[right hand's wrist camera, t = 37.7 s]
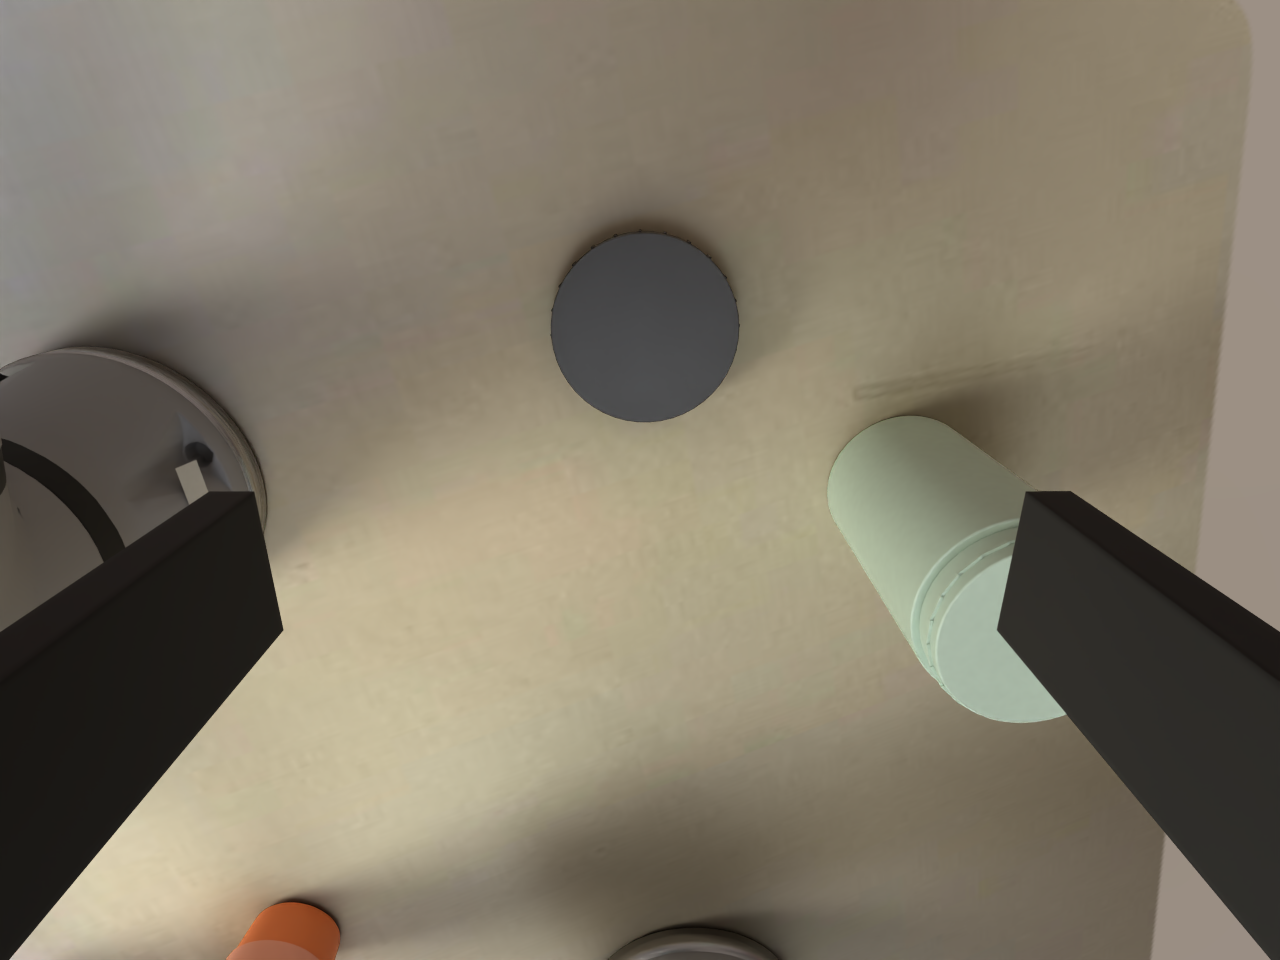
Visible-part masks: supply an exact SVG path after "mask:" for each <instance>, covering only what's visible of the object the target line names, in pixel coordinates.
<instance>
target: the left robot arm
mask: <svg viewBox="0 0 1280 960" xmlns="http://www.w3.org/2000/svg"><path fill="white" fill-rule="evenodd" d="M608 960H779V959H778V958H777V957H776V956H775V955H774V954H773V953H771V952H770V951H769V950H768V949H766V948H765V947H764V946H762V945H760V944H759V943H757V942H755V941H753V940H751V939H749V938H746V937H744V936H741V935H738V934H735V933H732V932H728V931H723V930H718V929H710V928H679V929H672V930H666V931H661V932H657V933H654V934H650V935H647V936H645V937H642V938H640V939H637V940H635V941H633V942H631V943H629V944H628V945H626V946H624V947H623V948H621V949H620V950H619V951H617V952H616V953H615V954H614V955H612V956H611V957H610V958H609V959H608Z"/></svg>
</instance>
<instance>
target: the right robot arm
mask: <svg viewBox="0 0 1280 960" xmlns="http://www.w3.org/2000/svg"><path fill="white" fill-rule="evenodd" d="M265 522H266V495H265V489H264V483H263V480H262V476H261V472H260V469H259V467H258V464H257V461H256V459H255V456H254V454H253V452H252V450H251V448H250V446H249V444H248V443H247V441H246V439H245V438H244V436H243V434H242V433H241V431H240V430H239V429H238V427H237V426H236V424H235V423H234V422H233V420H232V419H231V418H230V417H229V416H228V414H227V413H226V412H225V411H224V410H223V409H222V408H221V407H220V406H219V405H218V404H217V403H216V402H215V401H214V400H213V399H212V398H211V397H210V396H209V395H208V394H206V393H205V392H204V391H203V390H202V389H200V388H199V387H198V386H197V385H195V384H194V383H192V382H191V381H190V380H188V379H187V378H185V377H184V376H182V375H180V374H179V373H177V372H175V371H174V370H172V369H170V368H168V367H166V366H164V365H162V364H160V363H158V362H155V361H153V360H150V359H148V358H145V357H143V356H139V355H136V354H133V353H130V352H126V351H121V350H117V349H111V348H103V347H86V346H83V347H69V348H63V349H57V350H53V351H49V352H45V353H41V354H37V355H33V356H30V357H26V358H23V359H20V360H17V361H15V362H13V363H10V364H8V365H6V366H4V367H3V368H1V369H0V960H9V959H10V958H11V957H12V956H13V954H14V953H15V952H16V951H17V950H18V948H19V947H20V946H21V945H22V944H23V942H24V941H25V940H26V939H27V938H28V936H29V935H30V934H31V933H32V932H33V930H34V929H35V928H36V927H37V926H38V924H39V923H40V922H41V921H42V920H43V918H44V917H45V916H46V915H47V914H48V912H49V911H50V910H51V909H52V908H53V906H54V905H55V904H56V903H57V902H58V900H59V899H60V898H61V897H62V896H63V894H64V893H65V892H66V891H67V890H68V888H69V887H70V886H71V885H72V884H73V882H74V881H75V880H76V879H77V878H78V876H79V875H80V874H81V873H82V872H83V870H84V869H85V868H86V867H87V866H88V864H89V863H90V862H91V861H92V860H93V858H94V857H95V856H96V855H97V854H98V852H99V851H100V850H101V849H102V848H103V846H104V845H105V844H106V843H107V842H108V840H109V839H110V838H111V837H112V835H113V834H114V833H115V832H116V831H117V829H118V828H119V827H120V826H121V825H122V823H123V822H124V821H125V820H126V819H127V817H128V816H129V815H130V814H131V813H132V811H133V810H134V809H135V808H136V807H137V805H138V804H139V803H140V802H141V801H142V799H143V798H144V797H145V796H146V795H147V793H148V792H149V791H150V790H151V789H152V787H153V786H154V785H155V784H156V783H157V781H158V780H159V779H160V778H161V777H162V775H163V774H164V773H165V772H166V771H167V769H168V768H169V767H170V766H171V765H172V763H173V762H174V761H175V760H176V759H177V757H178V756H179V755H180V754H181V753H182V751H183V750H184V749H185V748H186V747H187V745H188V744H189V743H190V742H191V741H192V739H193V738H194V737H195V736H196V735H197V733H198V732H199V731H200V730H201V729H202V727H203V726H204V725H205V724H206V723H207V721H208V720H209V719H210V718H211V717H212V715H213V714H214V713H215V712H216V711H217V709H218V708H219V707H220V706H221V705H222V703H223V702H224V701H225V700H226V699H227V697H228V696H229V695H230V694H231V693H232V691H233V690H234V689H235V688H236V687H237V685H238V684H239V683H240V682H241V680H242V679H243V678H244V677H245V676H246V674H247V673H248V672H249V671H250V670H251V668H252V667H253V666H254V665H255V664H256V662H257V661H258V660H259V659H260V658H261V656H262V655H263V654H264V653H265V652H266V650H267V649H268V648H269V647H270V646H271V644H272V643H273V642H274V641H275V640H276V638H277V637H278V636H279V635H280V634H281V632H282V631H283V626H282V621H281V616H280V611H279V607H278V602H277V597H276V592H275V588H274V583H273V578H272V573H271V569H270V564H269V559H268V554H267V549H266V545H265V540H264V535H263V533H264V528H265ZM997 631H998V632H999V634H1000V635H1001V636H1002V637H1003V638H1004V640H1005V641H1006V642H1007V643H1008V644H1009V646H1010V647H1011V648H1012V649H1013V650H1014V652H1015V653H1016V654H1017V655H1018V656H1019V658H1020V659H1021V660H1022V661H1023V662H1024V664H1025V665H1026V666H1027V667H1028V668H1029V670H1030V671H1031V672H1032V673H1033V674H1034V676H1035V677H1036V678H1037V679H1038V680H1039V682H1040V683H1041V684H1042V685H1043V687H1044V688H1045V689H1046V690H1047V691H1048V693H1049V694H1050V695H1051V696H1052V697H1053V699H1054V700H1055V701H1056V702H1057V703H1058V705H1059V706H1060V707H1061V708H1062V709H1063V711H1064V712H1065V713H1066V714H1067V715H1068V717H1069V718H1070V719H1071V720H1072V721H1073V723H1074V724H1075V725H1076V726H1077V727H1078V729H1079V730H1080V731H1081V732H1082V733H1083V735H1084V736H1085V737H1086V738H1087V739H1088V741H1089V742H1090V743H1091V744H1092V745H1093V747H1094V748H1095V749H1096V750H1097V751H1098V753H1099V754H1100V755H1101V756H1102V757H1103V759H1104V760H1105V761H1106V762H1107V763H1108V765H1109V766H1110V767H1111V768H1112V769H1113V771H1114V772H1115V773H1116V774H1117V775H1118V777H1119V778H1120V779H1121V780H1122V781H1123V783H1124V784H1125V785H1126V786H1127V787H1128V789H1129V790H1130V791H1131V792H1132V793H1133V795H1134V796H1135V797H1136V798H1137V799H1138V801H1139V802H1140V803H1141V804H1142V805H1143V807H1144V808H1145V809H1146V810H1147V811H1148V813H1149V814H1150V815H1151V816H1152V817H1153V819H1154V820H1155V821H1156V822H1157V823H1158V825H1159V826H1160V827H1161V828H1162V829H1163V831H1164V832H1165V833H1166V834H1167V835H1168V837H1169V838H1170V839H1171V840H1172V841H1173V843H1174V844H1175V845H1176V846H1177V848H1178V849H1179V850H1180V851H1181V852H1182V853H1183V855H1184V856H1185V857H1186V858H1187V860H1188V861H1189V862H1190V863H1191V864H1192V865H1193V867H1194V868H1195V869H1196V870H1197V871H1198V873H1199V874H1200V875H1201V876H1202V878H1203V879H1204V880H1205V881H1206V882H1207V884H1208V885H1209V886H1210V887H1211V888H1212V890H1213V891H1214V892H1215V893H1216V894H1217V896H1218V897H1219V898H1220V899H1221V900H1222V902H1223V903H1224V904H1225V905H1226V906H1227V908H1228V909H1229V910H1230V911H1231V912H1232V914H1233V915H1234V916H1235V917H1236V918H1237V920H1238V921H1239V922H1240V923H1241V924H1242V925H1243V927H1244V928H1245V929H1246V930H1247V932H1248V933H1249V934H1250V935H1251V936H1252V938H1253V939H1254V940H1255V941H1256V942H1257V944H1258V945H1259V946H1260V947H1261V948H1262V950H1263V951H1264V952H1265V953H1266V954H1267V956H1268V957H1269V958H1270V959H1271V960H1280V632H1279V631H1278V630H1276V629H1275V628H1273V627H1272V626H1270V625H1269V624H1267V623H1266V622H1264V621H1263V620H1261V619H1260V618H1258V617H1257V616H1255V615H1254V614H1252V613H1251V612H1249V611H1248V610H1246V609H1245V608H1243V607H1242V606H1240V605H1239V604H1238V603H1236V602H1235V601H1233V600H1232V599H1230V598H1229V597H1227V596H1226V595H1224V594H1223V593H1221V592H1220V591H1218V590H1217V589H1215V588H1214V587H1212V586H1211V585H1209V584H1208V583H1206V582H1205V581H1203V580H1202V579H1200V578H1199V577H1197V576H1196V575H1194V574H1193V573H1191V572H1190V571H1188V570H1187V569H1185V568H1184V567H1182V566H1181V565H1180V564H1178V563H1177V562H1175V561H1174V560H1172V559H1171V558H1169V557H1168V556H1166V555H1165V554H1163V553H1162V552H1160V551H1159V550H1157V549H1156V548H1154V547H1153V546H1151V545H1150V544H1148V543H1147V542H1145V541H1144V540H1142V539H1141V538H1139V537H1138V536H1136V535H1135V534H1133V533H1132V532H1130V531H1129V530H1127V529H1126V528H1125V527H1123V526H1122V525H1120V524H1119V523H1117V522H1116V521H1114V520H1113V519H1111V518H1110V517H1108V516H1107V515H1105V514H1104V513H1102V512H1101V511H1099V510H1098V509H1096V508H1095V507H1093V506H1092V505H1090V504H1089V503H1087V502H1086V501H1084V500H1083V499H1081V498H1080V497H1078V496H1077V495H1075V494H1074V493H1072V492H1071V491H1026V492H1025V497H1024V502H1023V506H1022V511H1021V516H1020V521H1019V526H1018V530H1017V535H1016V540H1015V545H1014V549H1013V554H1012V559H1011V564H1010V569H1009V573H1008V578H1007V583H1006V588H1005V592H1004V597H1003V602H1002V607H1001V611H1000V616H999V621H998V626H997Z"/></svg>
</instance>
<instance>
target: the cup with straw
mask: <svg viewBox="0 0 1280 960" xmlns="http://www.w3.org/2000/svg"><path fill="white" fill-rule="evenodd" d="M339 943H340V932H339V929H338V927H337V925H336V923H335V922H334V921H333V919H332V918H331V917H330V916H328V915H327V914H326V913H324V912H323V911H321V910H320V909H318V908H315V907H313V906H310V905H307V904H302V903H295V902H286V903H279V904H276V905H273V906H270V907H268V908H266V909H265V910H264V911H262V912H261V913H260V914H259V915H258V917H257V918H256V919H255V921H254V922H253V924H252V925H251V927H250V928H249V930H248V931H247V933H246V934H245V936H244V938H243V939H242V941H241V942H240V944H239V945H238V947H237V948H236V949H235V950H234V951H232V952H231V953H230V954H229V956H228V957H227V959H226V960H335V957H336V954H337V951H338V947H339Z"/></svg>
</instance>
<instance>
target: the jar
mask: <svg viewBox="0 0 1280 960" xmlns="http://www.w3.org/2000/svg"><path fill="white" fill-rule="evenodd" d="M1026 491H1037V490H1036V489H1035V488H1033V487H1032V486H1031V485H1029V484H1028V483H1026V482H1025V481H1024V480H1022V479H1021V478H1020V477H1018V476H1017V475H1015V474H1014V473H1013V472H1011V471H1010V470H1009V469H1007V468H1006V467H1004V466H1003V465H1002V464H1000V463H999V462H998V461H996V460H995V459H993V458H992V457H991V456H989V455H988V454H987V453H985V452H984V451H982V450H981V449H980V448H978V447H977V446H976V445H974V444H973V443H971V442H970V441H969V440H967V439H966V438H964V437H963V436H962V435H960V434H959V433H958V432H956V431H955V430H953V429H952V428H951V427H949V426H948V425H946V424H944V423H942V422H940V421H938V420H934V419H931V418H928V417H922V416H899V417H894V418H890V419H887V420H884V421H880V422H878V423H876V424H874V425H872V426H870V427H868V428H866V429H865V430H863V431H862V432H860V433H859V434H858V435H857V436H855V437H854V438H853V439H852V440H851V441H850V442H849V443H848V444H847V445H846V446H845V447H844V449H843V450H842V451H841V453H840V454H839V456H838V458H837V459H836V461H835V463H834V465H833V467H832V470H831V473H830V476H829V481H828V487H827V498H828V505H829V509H830V512H831V515H832V517H833V519H834V521H835V523H836V525H837V526H838V528H839V530H840V531H841V533H842V534H843V536H844V538H845V539H846V541H847V543H848V544H849V546H850V548H851V549H852V551H853V553H854V554H855V556H856V558H857V559H858V561H859V562H860V564H861V566H862V567H863V569H864V571H865V572H866V574H867V576H868V577H869V579H870V581H871V582H872V584H873V585H874V587H875V589H876V590H877V592H878V594H879V595H880V597H881V599H882V600H883V602H884V604H885V605H886V607H887V608H888V610H889V612H890V613H891V615H892V617H893V618H894V620H895V622H896V623H897V625H898V627H899V628H900V630H901V631H902V633H903V635H904V636H905V638H906V640H907V641H908V643H909V645H910V646H911V648H912V650H913V651H914V653H915V654H916V656H917V658H918V659H919V661H920V662H921V664H922V665H923V667H924V668H925V669H926V671H927V672H928V673H929V674H930V675H931V676H932V677H933V678H935V679H936V680H937V681H938V683H939V684H940V686H941V688H942V689H944V690H945V691H946V692H947V693H948V694H949V695H950V696H951V697H952V698H953V699H954V700H955V701H957V703H958V704H961V705H963V706H964V707H966V708H968V709H969V710H971V711H973V712H974V713H977V714H979V715H981V716H984V717H986V718H990V719H994V720H997V721H1004V722H1012V723H1029V722H1039V721H1045V720H1050V719H1054V718H1057V717H1061V716H1064V715H1067V714H1066V713H1065V712H1064V711H1063V709H1062V708H1061V707H1060V706H1059V705H1058V703H1057V702H1056V701H1055V700H1054V699H1053V697H1052V696H1051V695H1050V694H1049V693H1048V691H1047V690H1046V689H1045V688H1044V687H1043V685H1042V684H1041V683H1040V682H1039V680H1038V679H1037V678H1036V677H1035V676H1034V674H1033V673H1032V672H1031V671H1030V670H1029V668H1028V667H1027V666H1026V665H1025V664H1024V662H1023V661H1022V660H1021V659H1020V658H1019V656H1018V655H1017V654H1016V653H1015V652H1014V650H1013V649H1012V648H1011V647H1010V646H1009V644H1008V643H1007V642H1006V641H1005V640H1004V638H1003V637H1002V636H1001V635H1000V634H999V632H998V631H997V626H998V621H999V616H1000V611H1001V607H1002V602H1003V597H1004V592H1005V588H1006V583H1007V578H1008V573H1009V569H1010V564H1011V559H1012V554H1013V549H1014V545H1015V540H1016V535H1017V530H1018V526H1019V521H1020V516H1021V511H1022V506H1023V502H1024V497H1025V492H1026Z"/></svg>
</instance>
